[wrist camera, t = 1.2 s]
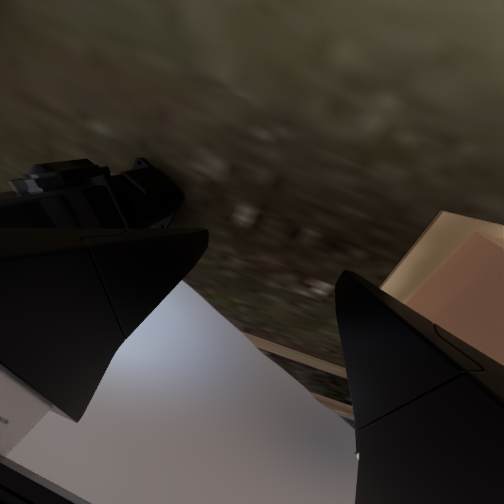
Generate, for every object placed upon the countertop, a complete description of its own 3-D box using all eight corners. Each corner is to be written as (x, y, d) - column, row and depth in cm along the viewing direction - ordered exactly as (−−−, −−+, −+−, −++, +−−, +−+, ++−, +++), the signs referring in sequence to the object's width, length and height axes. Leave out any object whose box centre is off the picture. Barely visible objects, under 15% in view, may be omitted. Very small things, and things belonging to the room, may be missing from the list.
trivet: (368, 300, 23) (369, 302, 23) (440, 209, 16) (443, 211, 16) (534, 351, 21) (537, 355, 20) (698, 271, 14) (708, 275, 14)
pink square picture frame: (402, 306, 22) (456, 409, 14) (475, 231, 16) (644, 333, 8) (426, 313, 21) (497, 424, 13) (509, 240, 16) (723, 355, 8)
